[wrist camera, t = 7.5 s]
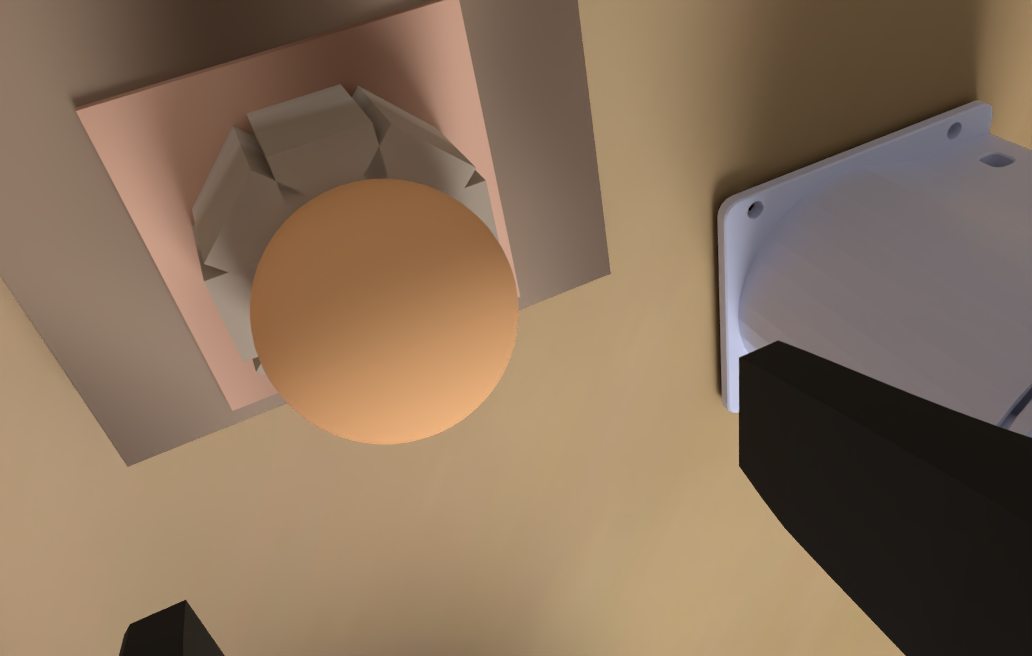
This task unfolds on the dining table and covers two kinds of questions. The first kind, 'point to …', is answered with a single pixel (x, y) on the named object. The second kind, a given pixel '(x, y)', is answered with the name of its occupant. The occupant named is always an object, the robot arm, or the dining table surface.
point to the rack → (263, 170)
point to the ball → (384, 311)
